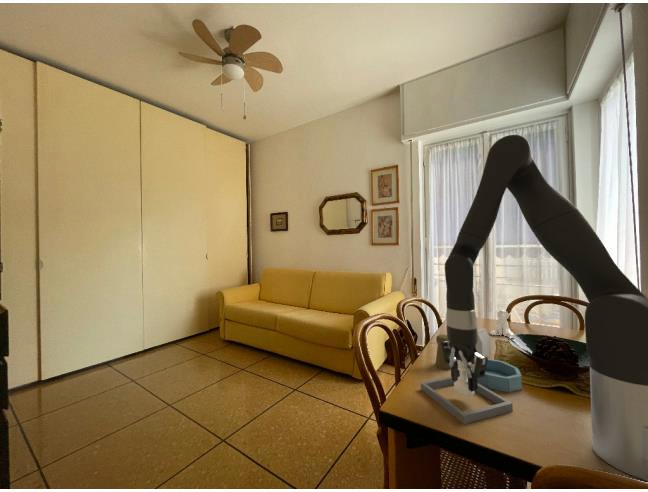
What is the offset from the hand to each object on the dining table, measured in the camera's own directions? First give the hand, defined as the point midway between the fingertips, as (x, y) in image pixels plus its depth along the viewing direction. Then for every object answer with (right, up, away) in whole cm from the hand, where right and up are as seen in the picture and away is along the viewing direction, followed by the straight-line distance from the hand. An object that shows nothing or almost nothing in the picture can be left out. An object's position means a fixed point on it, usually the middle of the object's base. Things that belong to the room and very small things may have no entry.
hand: (463, 384), depth 70 cm
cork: (+5, -5, +21) cm, 22 cm away
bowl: (+16, -4, +10) cm, 20 cm away
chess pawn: (0, -2, 0) cm, 2 cm away
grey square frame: (0, -4, +1) cm, 4 cm away
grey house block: (+24, -5, +30) cm, 38 cm away
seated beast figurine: (+48, -4, +51) cm, 70 cm away
